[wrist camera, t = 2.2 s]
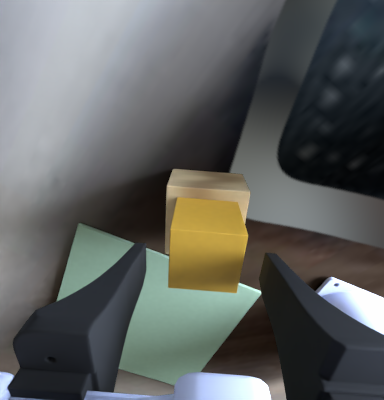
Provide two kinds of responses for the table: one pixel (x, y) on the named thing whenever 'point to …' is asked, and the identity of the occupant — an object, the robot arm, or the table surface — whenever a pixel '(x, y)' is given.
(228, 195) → the birch block
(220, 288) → the mustard cube
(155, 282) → the sage mat
